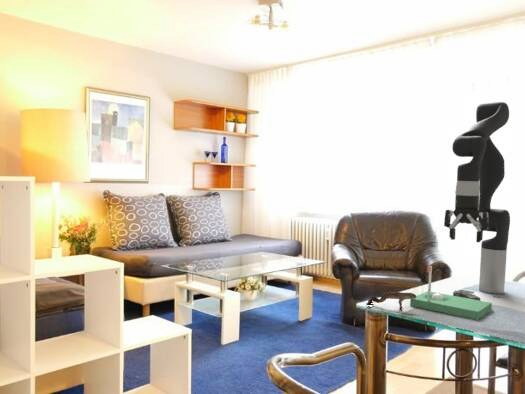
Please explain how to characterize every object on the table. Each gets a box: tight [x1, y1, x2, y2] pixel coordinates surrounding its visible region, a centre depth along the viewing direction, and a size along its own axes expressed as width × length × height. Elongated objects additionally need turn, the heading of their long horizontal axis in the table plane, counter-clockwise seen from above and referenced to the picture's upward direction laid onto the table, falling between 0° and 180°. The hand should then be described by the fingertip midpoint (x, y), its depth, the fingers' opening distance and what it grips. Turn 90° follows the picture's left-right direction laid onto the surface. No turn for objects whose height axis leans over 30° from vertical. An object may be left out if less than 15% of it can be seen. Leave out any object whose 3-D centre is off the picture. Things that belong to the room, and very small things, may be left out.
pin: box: [426, 265, 433, 302], centre depth 157 cm, size 3×1×12 cm, turn 140°
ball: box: [431, 293, 444, 300], centre depth 164 cm, size 4×4×4 cm
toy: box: [366, 291, 417, 312], centre depth 157 cm, size 6×9×15 cm
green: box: [409, 290, 493, 320], centre depth 161 cm, size 16×22×2 cm
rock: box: [452, 289, 482, 301], centre depth 170 cm, size 8×10×4 cm
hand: (465, 240), depth 163 cm, fingers open, 8 cm apart
